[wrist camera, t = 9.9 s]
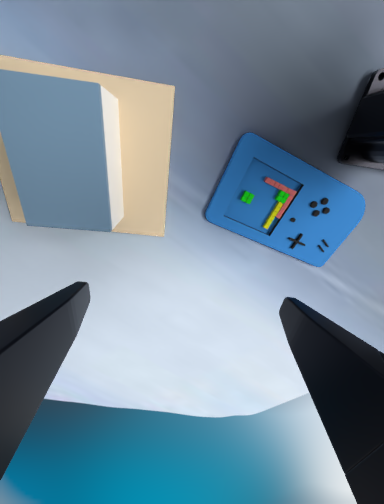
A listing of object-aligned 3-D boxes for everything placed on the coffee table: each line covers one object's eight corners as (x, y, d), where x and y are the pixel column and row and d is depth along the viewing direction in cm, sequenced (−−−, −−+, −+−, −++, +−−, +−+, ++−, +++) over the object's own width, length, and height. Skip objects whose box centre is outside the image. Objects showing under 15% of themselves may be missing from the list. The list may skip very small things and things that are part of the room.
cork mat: (174, 88, 15) (174, 86, 15) (164, 234, 20) (163, 236, 20) (-29, 52, 14) (-37, 48, 13) (17, 219, 19) (12, 221, 19)
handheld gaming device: (322, 270, 23) (203, 220, 19) (316, 265, 24) (202, 216, 20) (379, 202, 19) (247, 128, 16) (369, 200, 20) (243, 130, 17)
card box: (123, 216, 19) (110, 232, 15) (56, 210, 18) (26, 225, 15) (117, 99, 15) (97, 82, 11) (31, 87, 14) (-18, 66, 11)
